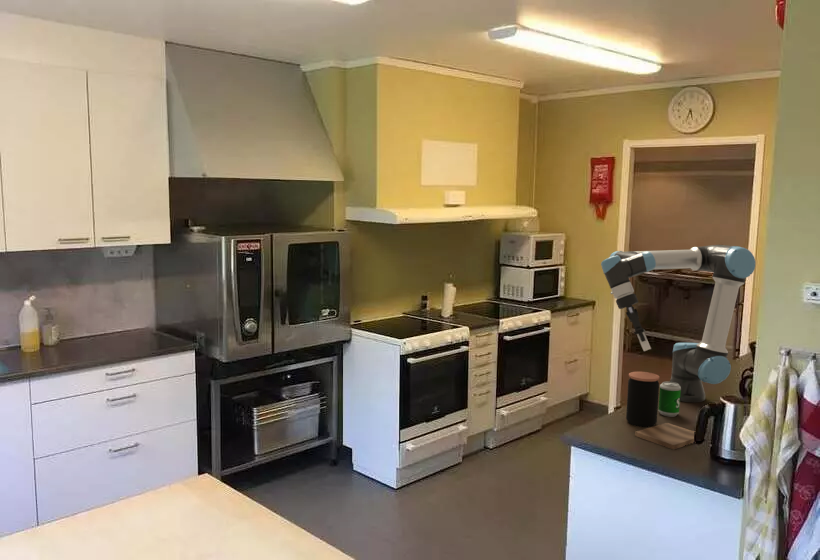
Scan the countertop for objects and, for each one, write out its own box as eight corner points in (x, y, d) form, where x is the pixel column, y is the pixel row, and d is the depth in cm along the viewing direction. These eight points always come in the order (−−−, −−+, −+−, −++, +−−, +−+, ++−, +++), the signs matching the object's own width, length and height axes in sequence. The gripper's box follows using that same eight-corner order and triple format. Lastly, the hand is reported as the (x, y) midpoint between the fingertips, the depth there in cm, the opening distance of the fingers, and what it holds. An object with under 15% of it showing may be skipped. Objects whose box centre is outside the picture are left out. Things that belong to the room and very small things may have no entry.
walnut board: (666, 426, 242) (666, 422, 242) (705, 439, 230) (705, 435, 230) (635, 435, 232) (635, 431, 232) (673, 449, 220) (673, 445, 220)
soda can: (672, 418, 252) (675, 387, 250) (654, 413, 257) (656, 383, 256) (682, 414, 257) (684, 384, 255) (664, 409, 262) (666, 379, 261)
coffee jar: (652, 419, 251) (655, 372, 249) (660, 428, 240) (663, 379, 238) (623, 417, 252) (625, 370, 250) (629, 427, 241) (632, 378, 239)
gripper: (616, 301, 264) (637, 352, 260) (613, 297, 241) (637, 353, 236) (635, 294, 262) (656, 345, 258) (634, 290, 238) (658, 346, 234)
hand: (647, 349), depth 247 cm, fingers open, 13 cm apart
